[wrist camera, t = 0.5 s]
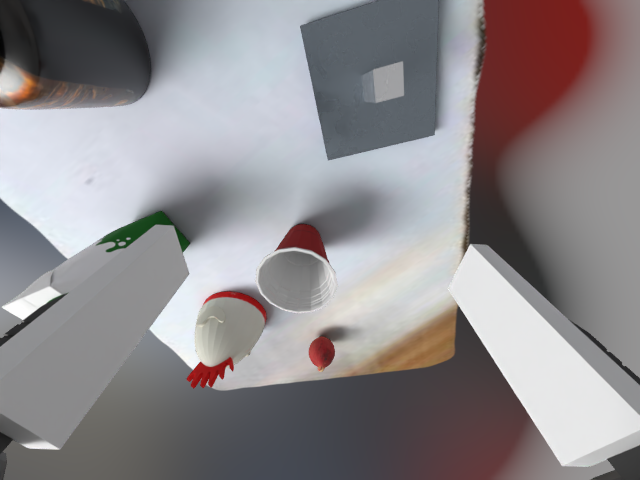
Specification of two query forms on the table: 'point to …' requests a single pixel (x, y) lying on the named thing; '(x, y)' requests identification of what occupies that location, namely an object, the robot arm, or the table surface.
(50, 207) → the table surface
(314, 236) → the plastic cup
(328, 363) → the onion
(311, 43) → the stand
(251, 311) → the chicken hat
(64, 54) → the jar
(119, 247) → the milk carton
